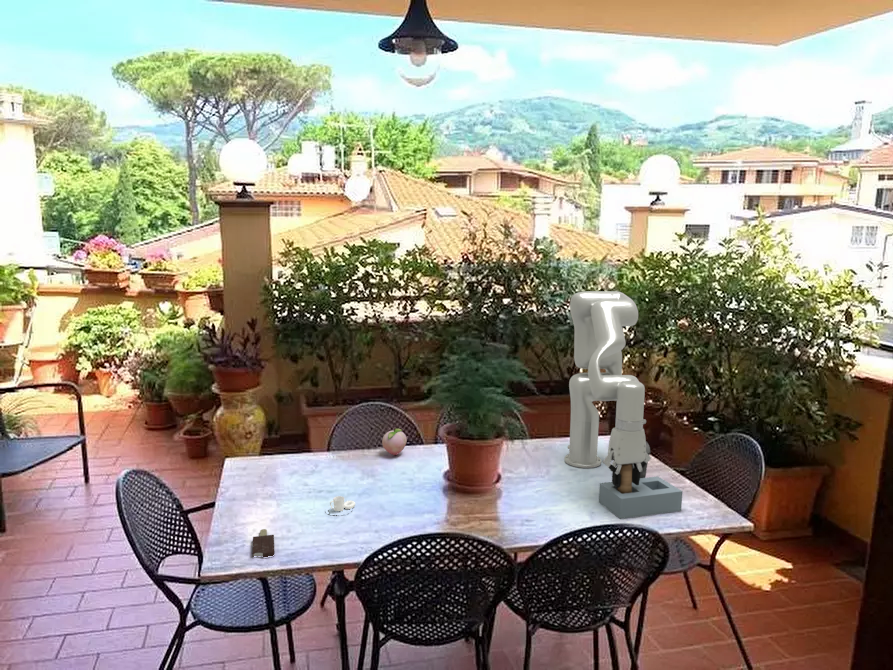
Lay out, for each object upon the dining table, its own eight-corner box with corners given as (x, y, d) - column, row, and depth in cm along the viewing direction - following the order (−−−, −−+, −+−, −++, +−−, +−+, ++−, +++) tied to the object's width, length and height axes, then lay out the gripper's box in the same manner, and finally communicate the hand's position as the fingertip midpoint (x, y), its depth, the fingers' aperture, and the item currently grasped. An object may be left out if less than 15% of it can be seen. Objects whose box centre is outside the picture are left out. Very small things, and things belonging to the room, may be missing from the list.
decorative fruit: (387, 449, 243) (387, 423, 242) (409, 452, 241) (409, 425, 240) (378, 458, 234) (378, 430, 233) (400, 460, 232) (400, 433, 231)
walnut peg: (614, 501, 196) (615, 462, 194) (626, 499, 197) (627, 460, 195) (622, 506, 192) (622, 466, 190) (634, 504, 193) (634, 465, 191)
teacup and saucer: (354, 504, 197) (354, 491, 196) (356, 516, 189) (356, 502, 188) (324, 507, 195) (324, 493, 194) (325, 518, 187) (325, 504, 187)
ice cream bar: (253, 533, 178) (252, 561, 163) (253, 528, 177) (252, 554, 163) (273, 531, 179) (274, 558, 165) (273, 525, 179) (274, 552, 164)
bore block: (598, 502, 199) (599, 483, 198) (656, 494, 205) (657, 476, 204) (620, 519, 188) (621, 498, 187) (681, 510, 194) (682, 491, 193)
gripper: (647, 418, 197) (644, 477, 200) (595, 423, 192) (592, 483, 195) (662, 425, 190) (658, 486, 193) (609, 430, 185) (606, 492, 188)
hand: (625, 484), depth 194 cm, fingers open, 5 cm apart
